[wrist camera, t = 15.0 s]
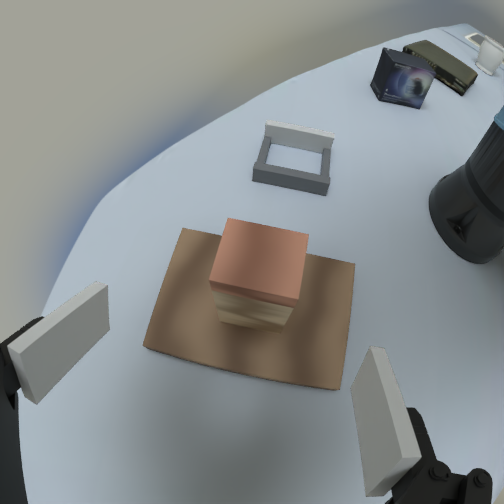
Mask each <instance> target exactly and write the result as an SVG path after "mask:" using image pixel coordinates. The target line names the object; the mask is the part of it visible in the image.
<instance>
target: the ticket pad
mask: <svg viewBox="0 0 504 504" xmlns="http://www.w3.org/2000/svg"><path fill="white" fill-rule="evenodd" d="M308 237H309V234H304V233H300V232H295V231H290V230H285V229H281V228H276V227H271V226H266V225H261V224H256V223H251V222H246V221H241V220H236V219H231V218H228V219H227V222H226V225H225V229H224V232H223V235H222V238H221V241H220V245H219V248H218V251H217V254H216V258H215V261H214V264H213V268H212V271H211V274H210V278H209V282H210V286H211V290H212V294H213V297H214V301H215V305H216V308H217V312H218V316H219V319H220V321H221V322H225V323H230V324H234V325H238V326H243V327H247V328H252V329H256V330H261V331H266V332H270V333H275V334H280V332H281V331H282V329H283V327H284V325H285V323H286V321H287V320H288V318H289V316H290V314H291V312H292V310H293V308H294V307H295V305H296V303H297V301H298V299H299V293H300V287H301V281H302V275H303V269H304V263H305V256H306V250H307V243H308Z"/></svg>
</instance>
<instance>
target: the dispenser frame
mask: <svg viewBox="0 0 504 504" xmlns="http://www.w3.org/2000/svg"><path fill="white" fill-rule="evenodd" d="M333 140H334V133H331V132H327V131H322V130H318V129H313V128H309V127H304V126H299V125H294V124H289V123H283V122H278V121H272V120H267V121H266V125H265V136H264V140H263V143H262V146H261V150H260V153H259V156H258V159H257V162H255V164H254V167H253V181H255V182H261V183H266V184H271V185H276V186H281V187H286V188H291V189H296V190H301V191H305V192H310V193H314V194H319V195H323V196H326V193H327V190H328V188H329V185H330V177H329V167H330V153H331V147H332V144H333ZM271 143H274V144H279V145H284V146H289V147H294V148H299V149H304V150H309V151H313V152H318V153H322V154H323V155H322V165H321V175H317V174H313V173H308V172H303V171H299V170H294V169H289V168H284V167H279V166H274V165H268V164H265V162H266V158H267V154H268V151H269V147H270V144H271Z"/></svg>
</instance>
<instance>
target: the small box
mask: <svg viewBox="0 0 504 504" xmlns="http://www.w3.org/2000/svg"><path fill="white" fill-rule="evenodd" d="M435 75H436V72H435V71H434V70H433V69H432V67H431V66H430V65H429V64H428V63H427V61H426V60H425V59H423V58H420V57H417V56H414V55H410V54H407V53H403V52H400V51H396V50H392V49H388V48H384V47H383V49H382V54H381V57H380V60H379V62H378V65H377V68H376V71H375V74H374V77H373V80H372V82H371V84H370V85H371V87H372V89H373V91H374V93H375V94H376V97H377V98H378V100H379V101H384V102H389V103H394V104H399V105H404V106H408V107H412V108H417V109H420V107H421V105H422V103H423V101H424V99H425V97H426V94H427V92H428V90H429V88H430V86H431V84H432V82H433V79H434V77H435Z"/></svg>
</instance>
